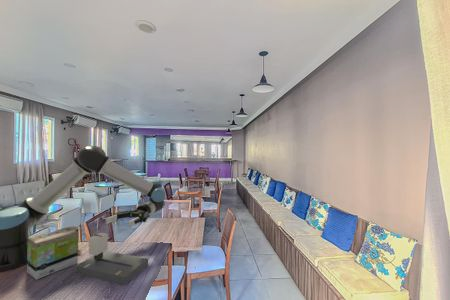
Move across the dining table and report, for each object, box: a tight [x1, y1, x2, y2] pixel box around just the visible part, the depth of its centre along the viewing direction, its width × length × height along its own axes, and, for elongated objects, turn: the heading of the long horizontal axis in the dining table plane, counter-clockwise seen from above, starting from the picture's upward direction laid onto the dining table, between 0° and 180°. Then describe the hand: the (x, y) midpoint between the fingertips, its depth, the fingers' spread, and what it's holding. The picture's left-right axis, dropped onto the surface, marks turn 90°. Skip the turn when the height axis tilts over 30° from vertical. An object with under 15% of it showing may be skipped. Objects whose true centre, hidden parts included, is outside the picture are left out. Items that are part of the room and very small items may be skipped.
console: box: [75, 250, 149, 286], centre depth 92 cm, size 25×14×3 cm, turn 73°
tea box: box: [26, 226, 79, 281], centre depth 93 cm, size 15×10×15 cm
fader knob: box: [88, 232, 109, 260], centre depth 94 cm, size 4×6×10 cm, turn 163°
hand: (117, 222), depth 104 cm, fingers open, 13 cm apart
